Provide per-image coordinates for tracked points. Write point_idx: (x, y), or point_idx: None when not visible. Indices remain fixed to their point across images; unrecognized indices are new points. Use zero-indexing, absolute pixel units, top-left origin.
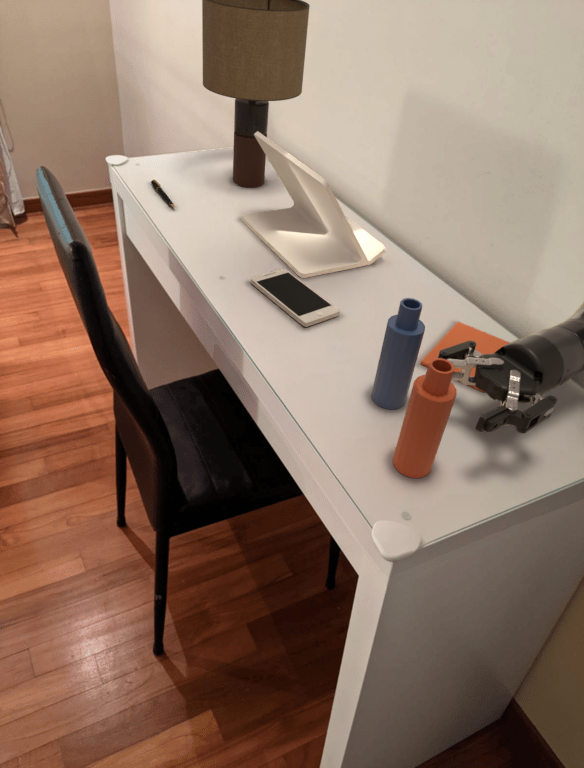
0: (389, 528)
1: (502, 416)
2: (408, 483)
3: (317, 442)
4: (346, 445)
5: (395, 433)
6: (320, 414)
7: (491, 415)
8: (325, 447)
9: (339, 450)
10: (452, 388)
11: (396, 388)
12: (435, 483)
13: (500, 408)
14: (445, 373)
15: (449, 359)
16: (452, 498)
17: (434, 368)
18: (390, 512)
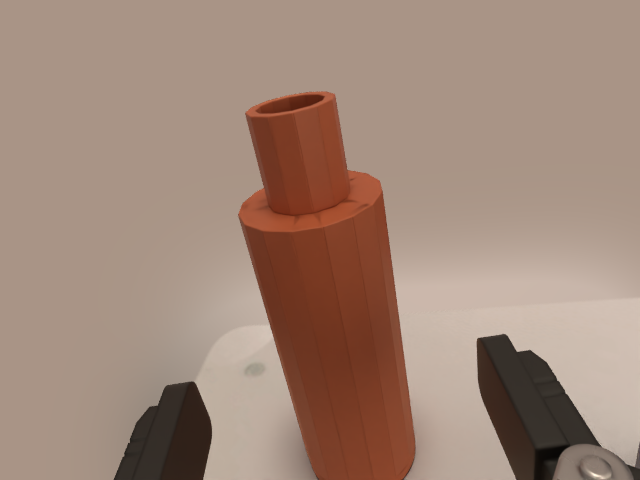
0: (254, 338)
1: (127, 476)
2: None
3: (499, 310)
4: (475, 349)
5: (491, 471)
6: (601, 338)
7: (159, 410)
8: (480, 317)
9: (463, 334)
10: (273, 223)
11: (638, 450)
12: (278, 466)
13: (148, 475)
14: (254, 106)
15: (624, 475)
16: (218, 476)
17: (292, 96)
18: None
